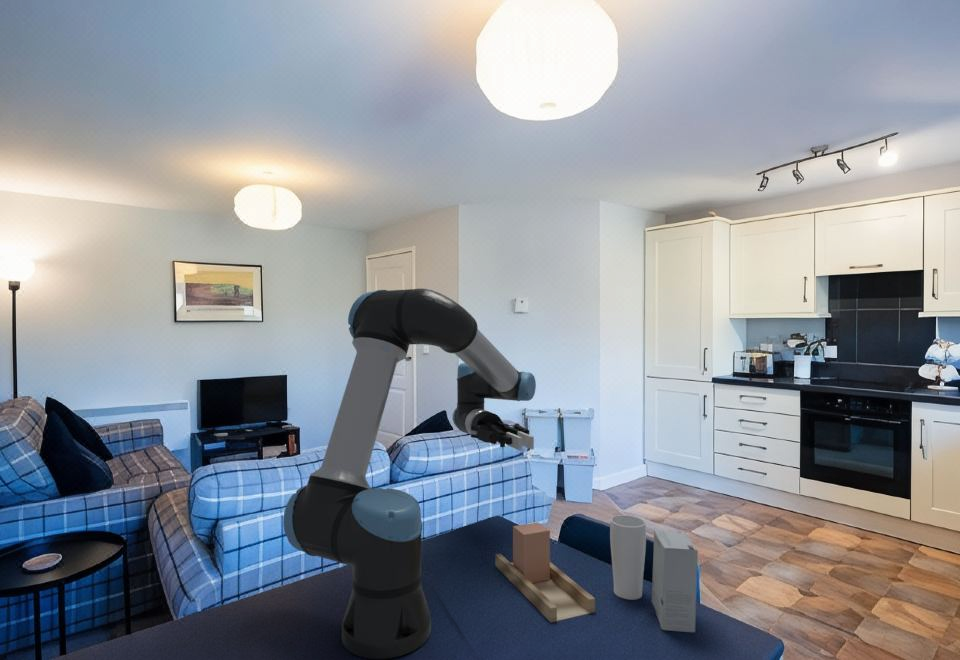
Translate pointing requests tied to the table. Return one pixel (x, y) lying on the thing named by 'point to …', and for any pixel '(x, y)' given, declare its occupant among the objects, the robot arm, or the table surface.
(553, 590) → the shallow wooden tray
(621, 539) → the drinking glass
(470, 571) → the table surface
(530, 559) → the terracotta block
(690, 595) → the skincare box
